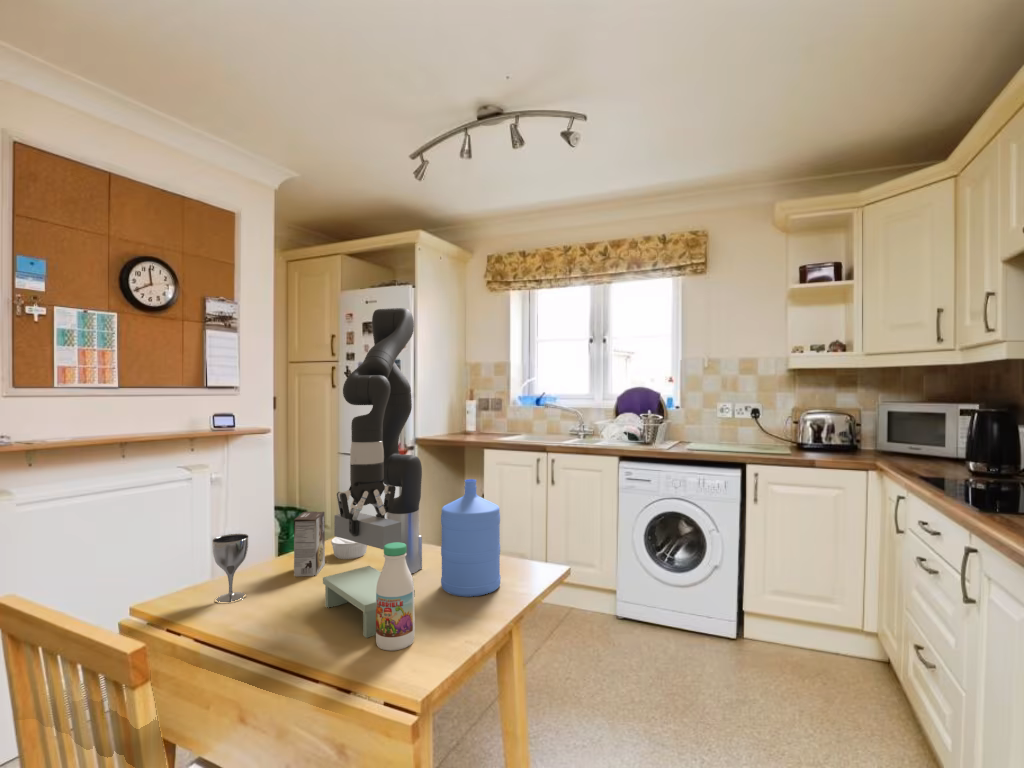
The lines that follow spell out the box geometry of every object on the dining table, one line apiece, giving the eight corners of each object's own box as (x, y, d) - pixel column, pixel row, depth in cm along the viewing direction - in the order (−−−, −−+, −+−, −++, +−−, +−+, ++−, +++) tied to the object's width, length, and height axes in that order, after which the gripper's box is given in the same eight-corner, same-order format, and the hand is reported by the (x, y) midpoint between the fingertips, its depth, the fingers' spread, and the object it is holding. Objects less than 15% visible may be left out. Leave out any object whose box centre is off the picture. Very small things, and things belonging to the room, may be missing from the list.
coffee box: (303, 565, 152) (303, 511, 152) (325, 565, 153) (325, 510, 153) (292, 577, 143) (292, 519, 143) (316, 576, 144) (316, 518, 144)
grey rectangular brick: (352, 531, 127) (352, 511, 127) (401, 544, 116) (401, 522, 116) (334, 536, 123) (334, 515, 123) (383, 549, 112) (383, 526, 112)
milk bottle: (379, 634, 109) (379, 540, 109) (416, 632, 110) (415, 538, 110) (372, 652, 101) (372, 551, 102) (412, 651, 102) (412, 550, 102)
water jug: (508, 593, 131) (508, 483, 131) (448, 601, 126) (448, 487, 126) (490, 572, 146) (489, 474, 146) (435, 580, 140) (435, 477, 141)
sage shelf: (369, 593, 131) (369, 565, 131) (414, 621, 115) (414, 590, 115) (322, 606, 123) (322, 577, 123) (364, 639, 107) (364, 605, 107)
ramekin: (324, 559, 158) (324, 542, 158) (342, 548, 169) (342, 532, 169) (358, 561, 156) (358, 544, 156) (374, 550, 167) (374, 534, 167)
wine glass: (232, 605, 124) (232, 543, 124) (204, 603, 126) (204, 541, 126) (255, 593, 132) (255, 534, 132) (228, 590, 133) (228, 532, 134)
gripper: (387, 456, 127) (387, 524, 127) (330, 461, 118) (330, 535, 117) (402, 459, 122) (402, 530, 121) (344, 465, 112) (344, 543, 112)
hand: (367, 532), depth 119 cm, fingers closed on grey rectangular brick, 5 cm apart
